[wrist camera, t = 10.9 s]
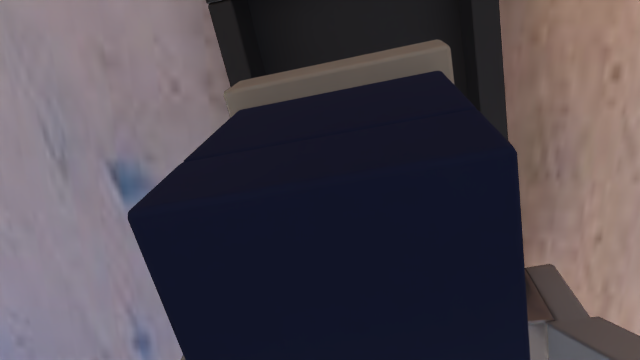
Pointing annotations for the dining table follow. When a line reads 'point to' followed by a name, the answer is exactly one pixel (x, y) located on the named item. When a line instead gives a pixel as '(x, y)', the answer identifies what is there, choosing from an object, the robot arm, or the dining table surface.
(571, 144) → the dining table surface
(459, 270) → the navy notched block
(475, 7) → the tray
